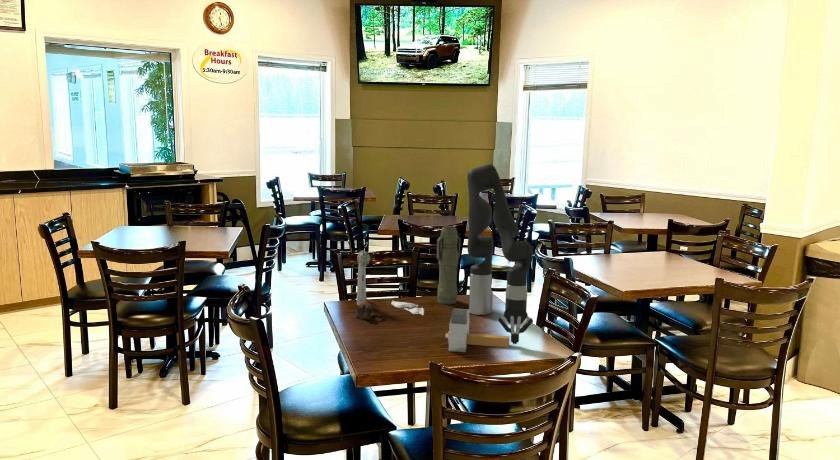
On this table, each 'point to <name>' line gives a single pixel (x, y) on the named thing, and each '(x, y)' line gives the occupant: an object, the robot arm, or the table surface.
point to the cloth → (403, 304)
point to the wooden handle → (486, 340)
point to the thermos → (448, 264)
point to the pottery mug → (367, 308)
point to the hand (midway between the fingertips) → (514, 343)
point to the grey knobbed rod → (362, 276)
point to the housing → (459, 330)
